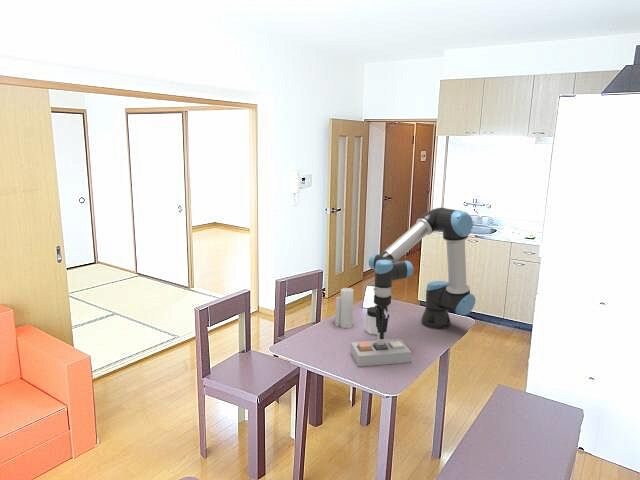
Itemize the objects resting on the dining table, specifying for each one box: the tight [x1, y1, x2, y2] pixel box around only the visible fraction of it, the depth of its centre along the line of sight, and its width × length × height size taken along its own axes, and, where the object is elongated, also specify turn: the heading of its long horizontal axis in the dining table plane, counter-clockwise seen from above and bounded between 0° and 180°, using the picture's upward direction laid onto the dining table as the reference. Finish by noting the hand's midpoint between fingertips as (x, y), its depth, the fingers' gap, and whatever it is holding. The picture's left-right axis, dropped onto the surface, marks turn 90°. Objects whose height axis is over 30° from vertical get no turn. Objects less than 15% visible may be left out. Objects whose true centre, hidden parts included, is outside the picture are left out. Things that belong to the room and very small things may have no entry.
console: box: [350, 338, 412, 368], centre depth 214 cm, size 24×14×5 cm, turn 101°
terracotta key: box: [357, 340, 372, 352], centre depth 212 cm, size 5×5×3 cm
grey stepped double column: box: [334, 287, 354, 329], centre depth 249 cm, size 11×7×20 cm, turn 48°
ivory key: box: [389, 341, 404, 349], centre depth 215 cm, size 5×5×3 cm
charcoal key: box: [374, 343, 388, 350], centre depth 214 cm, size 5×5×3 cm
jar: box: [365, 306, 378, 336], centre depth 242 cm, size 9×8×12 cm
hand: (380, 344), depth 213 cm, fingers closed
